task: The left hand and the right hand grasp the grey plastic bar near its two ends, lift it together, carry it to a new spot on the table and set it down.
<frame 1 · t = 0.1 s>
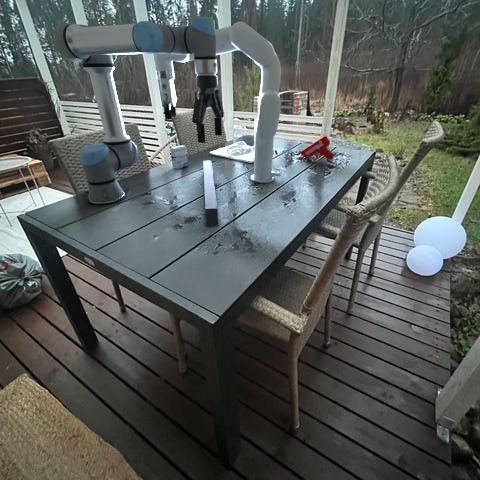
left hand: (210, 138, 105), 28 cm above the table, tool pointing down, fingers open, 13 cm apart
right hand: (171, 117, 129), 31 cm above the table, tool pointing down, fingers open, 9 cm apart
ink box: (180, 166, 165), on the table
bar: (209, 194, 129), on the table
toy gun: (316, 159, 176), on the table
relief map: (241, 154, 189), on the table
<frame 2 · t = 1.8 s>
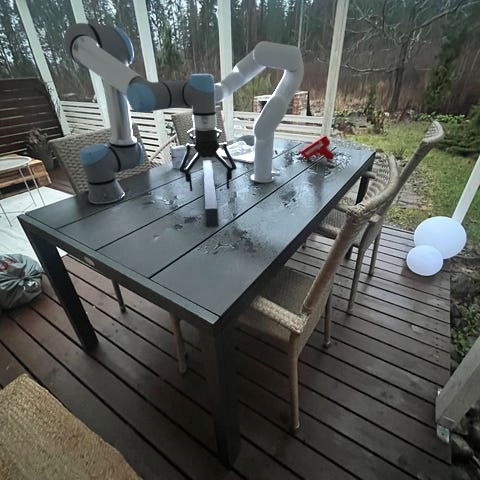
left hand: (209, 189, 101), 13 cm above the table, tool pointing down, fingers open, 13 cm apart
right hand: (205, 148, 142), 15 cm above the table, tool pointing down, fingers open, 9 cm apart
nothing on the table moved.
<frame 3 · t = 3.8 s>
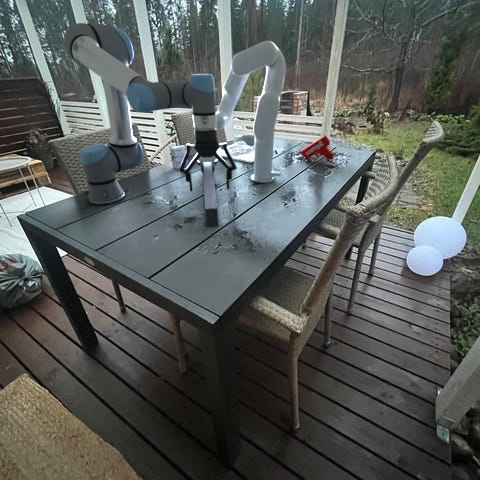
left hand: (209, 189, 101), 13 cm above the table, tool pointing down, fingers open, 13 cm apart
right hand: (208, 172, 149), 2 cm above the table, tool pointing down, fingers closed on bar, 4 cm apart
bar: (209, 194, 129), on the table, touching right hand
everything else where it was.
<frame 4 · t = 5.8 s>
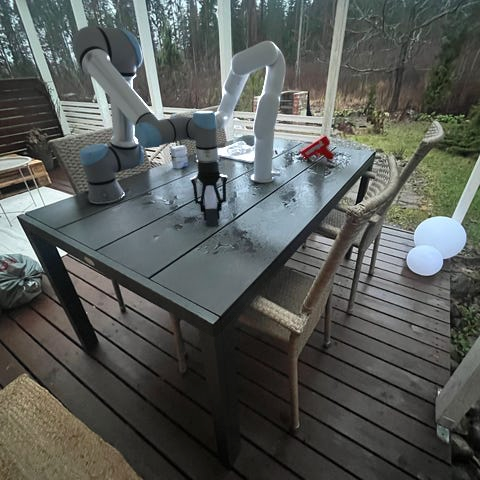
left hand: (211, 218, 108), 1 cm above the table, tool pointing down, fingers closed on bar, 4 cm apart
right hand: (208, 172, 149), 2 cm above the table, tool pointing down, fingers closed on bar, 4 cm apart
bar: (209, 194, 129), on the table, touching right hand, left hand
everything else where it was.
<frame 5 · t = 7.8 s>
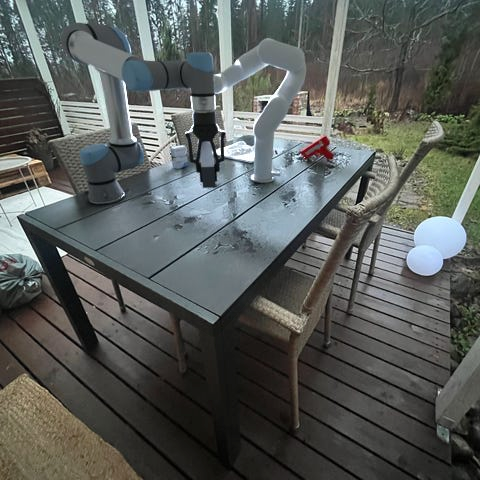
left hand: (208, 180, 99), 16 cm above the table, tool pointing down, fingers closed on bar, 5 cm apart
right hand: (206, 143, 141), 18 cm above the table, tool pointing down, fingers closed on bar, 4 cm apart
bar: (207, 162, 121), point 16 cm above the table, touching right hand, left hand
everything else where it was.
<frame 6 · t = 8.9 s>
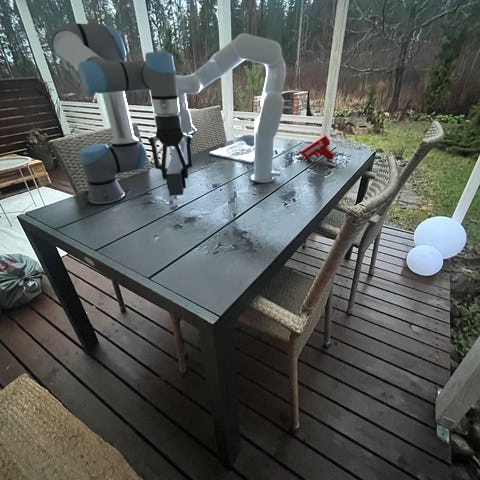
left hand: (176, 187, 94), 16 cm above the table, tool pointing down, fingers closed on bar, 5 cm apart
right hand: (183, 146, 135), 18 cm above the table, tool pointing down, fingers closed on bar, 4 cm apart
bar: (181, 166, 116), point 16 cm above the table, touching right hand, left hand
everything else where it was.
when the left hand's fingers open (2 cm above the table, at t = 12.0 s): bar drops 2 cm, on the table.
when the right hand's fingers open (4 cm above the table, at t = 12.1 s): bar stays where it is, on the table.
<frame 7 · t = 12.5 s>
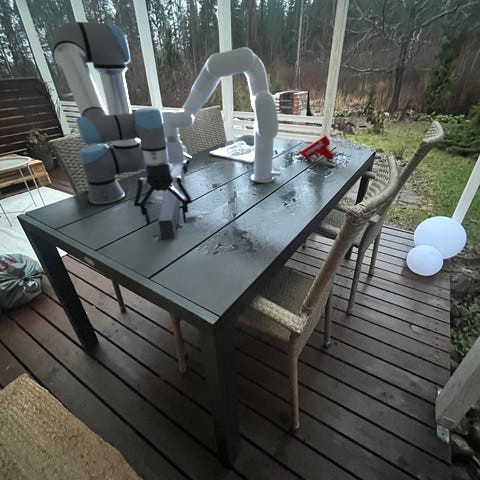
left hand: (167, 221, 98), 4 cm above the table, tool pointing down, fingers open, 12 cm apart
right hand: (176, 173, 140), 5 cm above the table, tool pointing down, fingers open, 8 cm apart
bar: (174, 202, 122), on the table
everything else where it was.
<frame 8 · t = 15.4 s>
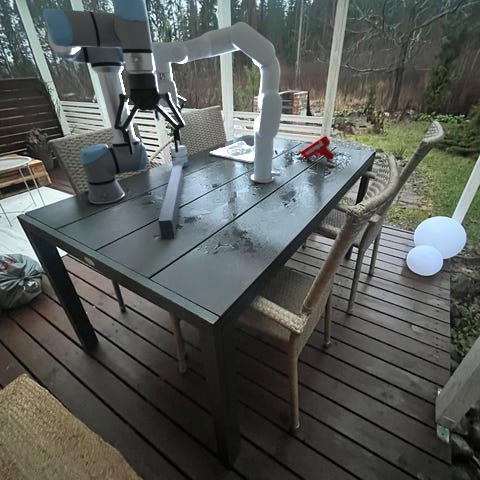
left hand: (155, 152, 85), 29 cm above the table, tool pointing down, fingers open, 13 cm apart
right hand: (169, 120, 126), 31 cm above the table, tool pointing down, fingers open, 9 cm apart
nothing on the table moved.
at the end: bar inside the target area (0.5 cm from its centre), on the table; bar tilted 0°; bar never tilted more than 2° during the clip; both hands held the bar at the same time; the left hand is holding nothing; the right hand is holding nothing; bar at rest at the end (0.0 cm/s) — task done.
